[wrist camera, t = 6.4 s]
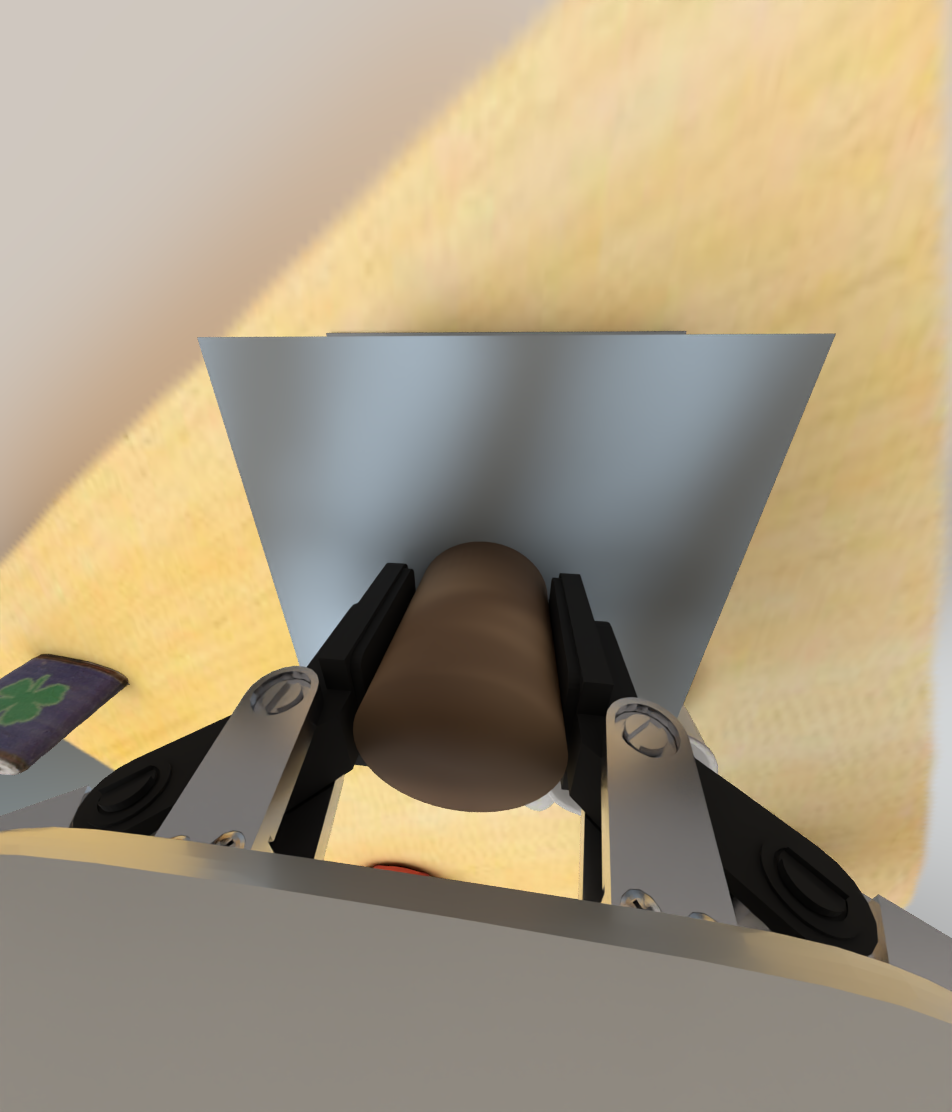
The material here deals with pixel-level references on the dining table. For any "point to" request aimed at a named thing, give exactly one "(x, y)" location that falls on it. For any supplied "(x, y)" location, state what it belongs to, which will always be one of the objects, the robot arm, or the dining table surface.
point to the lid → (507, 517)
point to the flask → (48, 705)
